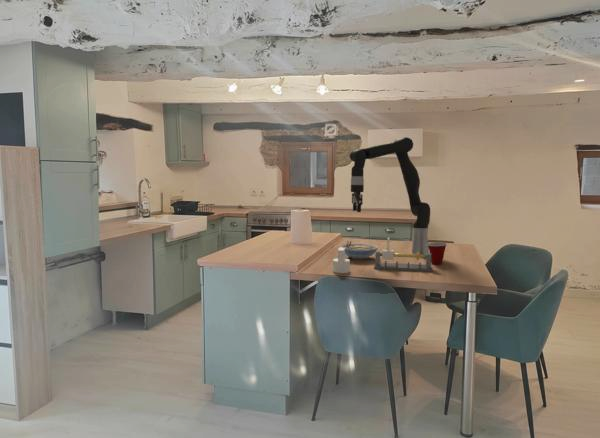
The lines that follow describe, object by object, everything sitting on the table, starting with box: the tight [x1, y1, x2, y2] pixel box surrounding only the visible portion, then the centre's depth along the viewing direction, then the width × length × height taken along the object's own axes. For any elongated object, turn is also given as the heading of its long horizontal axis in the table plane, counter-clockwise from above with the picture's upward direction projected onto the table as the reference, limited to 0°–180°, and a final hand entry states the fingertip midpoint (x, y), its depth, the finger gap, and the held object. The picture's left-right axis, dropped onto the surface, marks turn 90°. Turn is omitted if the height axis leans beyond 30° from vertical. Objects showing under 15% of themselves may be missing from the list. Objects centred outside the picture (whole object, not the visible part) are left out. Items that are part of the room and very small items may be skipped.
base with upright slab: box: [332, 246, 351, 274], centre depth 237 cm, size 9×9×12 cm
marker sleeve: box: [381, 237, 395, 261], centre depth 245 cm, size 6×5×12 cm
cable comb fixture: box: [373, 250, 433, 273], centre depth 244 cm, size 30×12×9 cm, turn 77°
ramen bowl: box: [339, 241, 379, 260], centre depth 270 cm, size 25×23×8 cm
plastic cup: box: [427, 241, 448, 266], centre depth 255 cm, size 11×11×12 cm
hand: (356, 211), depth 265 cm, fingers open, 8 cm apart
